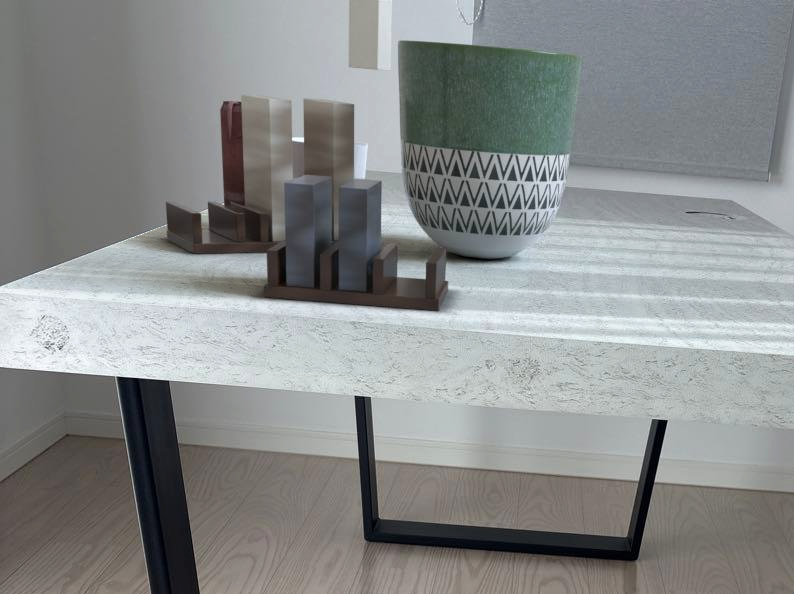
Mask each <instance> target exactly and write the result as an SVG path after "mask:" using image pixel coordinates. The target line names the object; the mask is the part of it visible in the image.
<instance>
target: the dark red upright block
mask: <svg viewBox="0 0 794 594" xmlns="http://www.w3.org/2000/svg"><path fill="white" fill-rule="evenodd" d="M219 114H220V115H219V116H220V135H221V137H220V138H221V139H220V140H221V162H222V163H221V164H222V186H223V205H225V206H228V207H230V202H240V203H242V204H245V189H244V160H243V132H242V104H241V101H233V100H223V101H222V105H221V107H220V109H219Z"/></svg>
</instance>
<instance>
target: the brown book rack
mask: <svg viewBox="0 0 794 594" xmlns="http://www.w3.org/2000/svg"><path fill="white" fill-rule="evenodd" d="M240 100H241V101H240V102H241V104H242V132H243V160H244V189H245V204H242V203H240V202H230V207H228V206H225V205H224V203H223V204H222V203H220V202H218V201H214V200H212V201H207V215H208V229H203V225H202V224H203V223H202V213H201V212H199V211H197V210H194V209H192V208H190V207H188V206H185V205H183V204H180V203H178V202H176V201H174V200H173V201H172V200H166V201H165V211H166V213H165V214H166V227H167V229H166V240H167V241H169V242H171V243H173V244H175V245H176V246H178V247H180V248H182V249H184V250H186V251H188V252H190V253H192V254H195V255H196V254H197V255H198V254H236V253H237V254H242V253H243V254H244V253H246V254H247V253H267V250H268V249H270V248H271V247H273V246H275V245H276V244H278V243H280V242H281V241H283V240H285V192H284V183H285V182H288V181H290V180H293V162H292V138H293V116H292V115H293V113H292V112H293V111H292V100H291V99H285V98H280V97H273V96H267V95H258V94H257V95H255V94H241V95H240ZM302 102H303V138H304V175H316V176H329V177H332V245H333V244H334V243H336V242H337V241H338V240H339V187H340V186H342V185H344V184H346V183H348V182H350V181H352V180H354V141H355V104H354V103H349V102H342V101H337V100H330V99H321V98H308V97H307V98H305V97H304V98H303V101H302Z"/></svg>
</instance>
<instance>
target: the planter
mask: <svg viewBox="0 0 794 594" xmlns="http://www.w3.org/2000/svg"><path fill="white" fill-rule="evenodd" d="M583 58H584V57H583V56H582V55H578V54H571V53H570V54H569V53H562V52H556V51H555V52H554V51H544V50H534V49H523V48H513V47H502V46H492V45H491V46H490V45H489V46H488V45H479V44H477V45H476V44H465V43H453V42H439V41H425V40H404V39H403V40H402V39H401V40H398V41H397V67H398V68H397V73H398V74H397V76H398V97H399V98H398V100H399V101H398V102H399V134H400V135H399V137H400V161H401V166H400V167H401V176H402V182H403V188H404V193H405V196H406V201H407V204H408V206H409V210H410V211H411V214H412V216H413V218H414V219H415V221H416V222H417V224H418V225H419V227H420V228H421V229H422V231H423V232H424V233H425V234H426V235H427V236H428V237H429V238H430V240H432V242H434V243H435V244H437V246H438V247H442V248H446V252H450V253H451V254H455V255H457V256H461V257H467V258H474V259H484V260H485V259H488V260H490V259H491V260H493V259H505V258H509V257H512V256H515V255H518V254H520V253H522V252H523V251H525V250H527V249H528V248H529V247H531V246H533V244H535V243H536V242H537V241H538V240H539V239H540V238H541V237H542V236H543V235H544V234H545V233H546V232H547V230H549V228H550V226H551V225H552V224H553V222H554V220H555V218H556V215H557V214H558V211H559V208H560V206H561V203H562V200H563V196H564V193H565V189H566V184H567V179H568V173H569V165H570V159H571V158H570V157H571V150H572V144H573V138H574V137H573V136H574V130H575V129H574V128H575V122H576V121H575V120H576V114H577V106H578V99H579V93H580V87H581V76H582V69H583V67H582V66H583V60H584V59H583Z"/></svg>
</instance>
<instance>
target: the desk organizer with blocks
mask: <svg viewBox="0 0 794 594" xmlns="http://www.w3.org/2000/svg"><path fill="white" fill-rule="evenodd" d="M382 183H383V181H382V180H380V179H379V180H376V179H366V178H365V179H354V180H352V181H350V182H348V183H346V184H344V185H342V186H340V187H339V240H338V241H337V242H336V243H334V244H333V245H332V177H329V176H316V175H303V176H301V177H298V178H296V179H293V180H290V181H288V182H285V183H284V192H285V240H283V241H281V242H280V243H278V244H276V245H275V246H273V247H271V248H270V249H268V250H267V252H266V271H267V272H266V274H267V275H266V276H267V277H266V279H267V283H266V284H265V285H264V286H263V294H264V295H263V296H264V298H270V299H283V300H293V301H294V300H295V301H307V302H309V301H310V302H319V303H321V302H322V303H333V304H347V305H359V306H371V307H372V306H373V307H385V308H397V309H398V308H399V309H413V310H423V311H436V312H438V311H439V310H440V309H441V307H442V304H443V302H444V300H445V298H446V296H447V295H448V292H449V280H446V272H447V271H446V270H447V250H446V248H442V247H440V246H437V247H436V248H435V249H434V251H433V252H432V254H431V255H430V257H429V258H428V259H427V260H426V263H425V278H418V277H417V278H415V277H403V276H402V277H401V276H398V260H399V259H398V258H399V257H398V254H399V253H398V252H399V251H398V250H399V244H398V243H391V242H390V243H389V242H388V243H387V244H386V245H385V246H384V247H383V248H382V191H383V190H382V187H383V185H382Z"/></svg>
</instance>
